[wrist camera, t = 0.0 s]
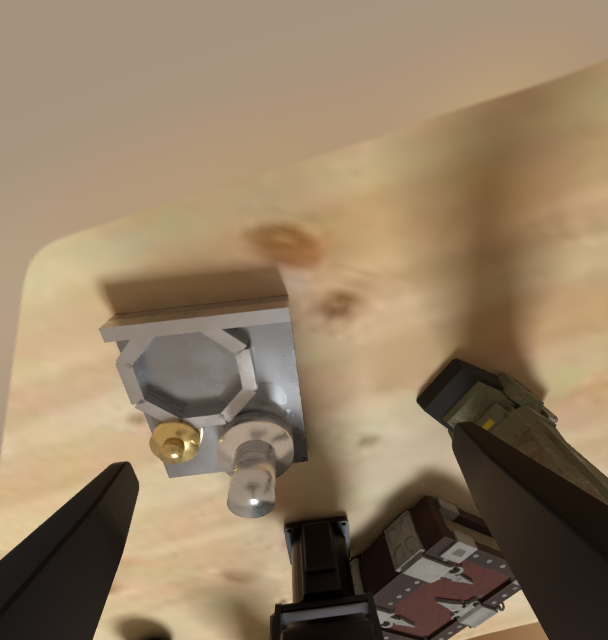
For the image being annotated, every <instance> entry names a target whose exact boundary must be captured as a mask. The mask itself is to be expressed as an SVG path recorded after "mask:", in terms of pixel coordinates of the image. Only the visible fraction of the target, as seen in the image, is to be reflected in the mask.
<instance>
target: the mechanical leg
mask: <svg viewBox="0 0 608 640" xmlns="http://www.w3.org/2000/svg"><path fill="white" fill-rule="evenodd" d="M417 403H418V404H419V405H420V407H421V408H422V409H423V410H424V411H425V412H427V413H428V414H429V415H430V416H432V417H433V418H434V419H436V420H437V421H438V422H440V423H441V424H442V425H444V426H445V427H446V428H448V433H449V435H450V437H451V439H453V432H454V426H455V423H456V422H460V421H473V422H475V423H476V424H478V425H479V426H481V427H483V428H484V429H486V430H488V431H489V432H491V433H492V434H494V435H496V436H497V437H499V438H501V439H502V440H504V441H505V442H507V443H509V444H510V445H512V446H514V447H515V448H517V449H518V450H520V451H522V452H523V453H525V454H527V455H528V456H530V457H531V458H533V459H535V460H536V461H538V462H540V463H541V464H543V465H544V466H546V467H548V468H549V469H551V470H553V471H554V472H556V473H557V474H559V475H561V476H562V477H564V478H566V479H567V480H569V481H570V482H572V483H574V484H575V485H577V486H579V487H580V488H582V489H583V490H585V491H587V492H588V493H590V494H592V495H593V496H595V497H596V498H598V499H600V500H601V501H603V502H605V503H606V504H608V478H607V477H606V476H605V475H604V474H603V473H602V472H601V471H599V470H598V469H597V468H596V467H595V466H594V465H592V464H591V463H590V462H589V461H588V460H587V459H585V458H584V457H583V456H582V455H581V454H580V453H579V452H577V451H576V450H575V449H574V448H573V447H572V446H570V445H569V444H568V443H567V442H566V441H565V439H564V438H563V437H562V435H561V434H560V433H559V431H558V430H557V429H556V424H555V423H556V422H557V421H558V419H557V417H556V416H555V415H554V414H553V413H552V412H550V411H549V410H548V409H547V408H546V407H545V406H543V404H544V403H543V402H542V401H541V400H540V399H539V398H538V397H536V396H535V395H534V394H533V393H531V391H530V390H529V389H527V388H526V387H525V386H524V385H522V384H521V383H520V382H518V381H517V380H516V379H514V378H512V377H511V376H509V375H507V374H506V373H504V374H502V375H500V376H498V377H497V376H496V375H494V374H492V373H490V372H487V371H485V370H482V369H480V368H478V367H475V366H473V365H471V364H468V363H466V362H464V361H461V360H459V359H454V360H453V361H452V362H451V363H450V364H449V365H448V366H447V367H446V368H445V369H444V370H443V371H442V373H441V374H440V375H439V376H438V377H437V378H436V379H435V380H434V381H433V383H432V384H431V385H430V386H429V387H428V388H427V389H426V390H425V392H424V393H423V394H422V395H421V396H420V397H419V398H418V400H417Z"/></svg>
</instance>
